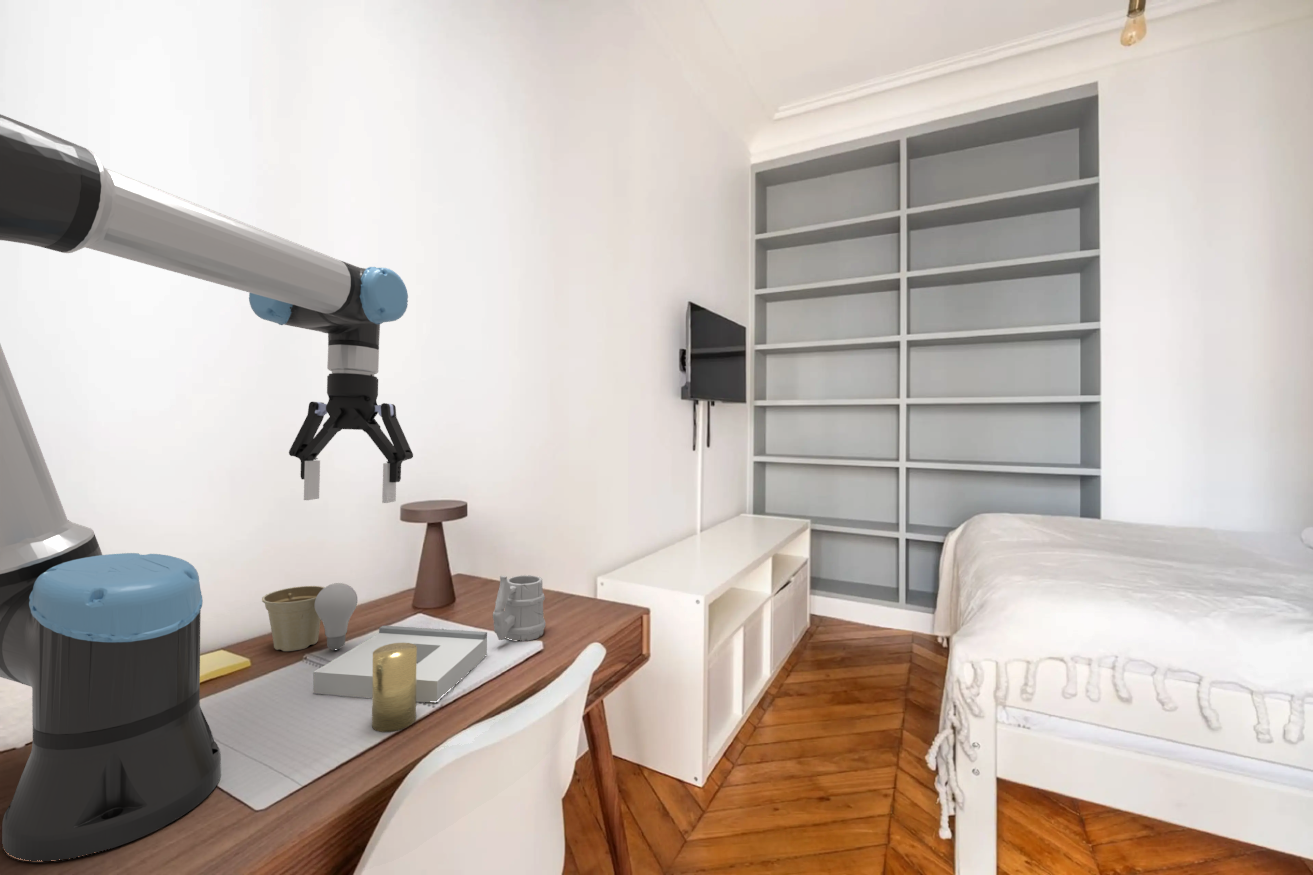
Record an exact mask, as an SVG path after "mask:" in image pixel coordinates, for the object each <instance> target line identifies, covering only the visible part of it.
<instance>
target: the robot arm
mask: <svg viewBox="0 0 1313 875" xmlns="http://www.w3.org/2000/svg"><path fill="white" fill-rule="evenodd" d="M0 241H4V242H12V243H18V244H26V245H31V246H35V247H40V248H44V249H47V250H51V251H56V252H59V253H63V254H71V253H75V252H77V251H80V250H82V249H84V248H86V249H91V250H93V251H97V252H100V253H105V254H107V255H112V256H114V257H115V256H116V257H119V258H122V259H126V260H130V261H133V262H138V263H141V264H145V265H148V266H152V267H155V268H160V269H162V270H167V271H170V272H174V273H177V274H181V275H183V276H184V275H185V276H188V277H190V278H191V277H192V278H195V279H200V280H201V281H202V280H203V281H205V282H206V281H207V282H209V283H213V284H217V285H220V286H224V287H228V288H232V289H234V290H235V289H236V290H238V291H241V292H242V291H243V292H246V293H248V294H249V295H248V296H249V297H248V301H249V305H250V308H251V310H252V311H253V313H254V314H255V315H256V316H257V317H259V318H260V319H262V320H265V321H269V322H271V323H275V324H278V325H279V326H289V327H295V328H301V329H305V330H309V331H314V332H315V331H316V332H320V333H324V334H327V341H328V342H327V345H328V346H327V370H328V371H330V372H331V373H329V374H328V375H327V378H326V384H327V385H326V394H327V396H328V401H327V403H325V402H321V401H310V402H309V404H308V409H307V415H306V416H305V417H306V418H305V419H304V421H303V423H302V424H301V427H300V429H299V431H298V433H297V435H296V437H295V439H294V440H293V442H292V444H291V446H290V448H289V451H288V455H289V456H290V457H295V458H297V459H299V460H300V479H301V480H304V482H303V501H311V500H312V501H313V500H319V499H320V482H321V481H320V479H321V478H320V476H321V474H320V472H321V460H318V459H319V458H318V456H319V455H320V453H321V452H322V451H323V450H324V449H325V448H326V447H327V445H328V444H329V443H330V441H332V439H333V438H334V437H335V436H336V434H338V433H339V432H340V431H341V430H355V431H356V430H360V431H361V430H362V431H363V432H364V433H366V434H367V435H368V437H369V438H370V439H371V441H372V442H373V443H374V445H375V446H376V448H378V450H379V451H380V452H381V454H382V455H383V456H384V458H386V460H387V461H386V462H385V463H383V464H382V465H383V466H382V497H381V502H382V504H388V503H393V502H394V503H395V502H396V498H397V496H396V495H397V483H400V482H401V479H402V476H401V475H402V463H403V462H404V461H407V460H411V459H413V458H414V453H413V451H412V449H411V447H410V444H409V443H408V439H407V437H406V435H405V433H404V431H403V429H402V427H401V424H400V423H399V420H398V417H397V409H396V405H395V404H394V403H385V402H382V403H381V404H378V402H377V399H378V396H379V378H378V377H377V376H375V375H377V374H378V373H379V360H380V359H379V358H380V357H379V356H380V333H381V332H380V328H381V324H384V323H388V322H389V323H390V322H395V321H398V320H400V318H402V317H403V316H404V314H405V313H406V311H407V309H408V302H409V300H408V298H409V295H408V290H407V287H406V284H405V282H404V281H403V279H402V278H401V276H400V275H399V274H398V273H397V272H395V271H394V270H392V269H390V268H387V267H376V266H369V267H366V268H364V267H359V266H356V265H353V264H351V263H348V262H346V261H344V260H340V259H338V258H335V257H333V256H331V255H330V256H329V255H327V254H325V253H322V252H320V251H318V250H314V249H312V248H309V247H307V246H304V245H301V244H299V243H297V242H294V241H292V240H289V239H287V238H285V237H281V236H278V235H277V234H273V233H271V232H269V231H266V230H265V229H261V228H258V227H255V226H253V225H250V224H248V223H246V222H244V221H240V220H238V219H235V218H232V217H231V216H227V215H225V214H222V213H220V212H218V211H215V210H212V209H210V208H207V207H205V206H202V205H200V204H198V203H195V202H192V201H190V200H187V199H185V198H182V197H180V196H178V195H174V194H173V193H169V192H167V191H164V190H162V189H159V188H156V187H154V186H152V185H149V184H146V183H143V182H141V181H139V180H136V179H133V178H132V177H128V176H126V175H123V174H122V173H118V172H116V171H113V170H111V169H108V168H106V167H105V166H104V165H103V163H102V162H101V160H100V159H99V157H98V156H97V155H96V154H95V152H94V151H92V150H90V149H89V148H86V147H83V146H82V145H78V144H76V143H74V142H72V141H69V140H67V139H64V138H62V137H59V136H57V135H54V134H51V133H49V132H47V131H44V130H42V129H39V128H38V127H35V126H32V125H29V124H27V123H24V122H22V121H18V120H16V119H13V118H11V117H9V116H6V115H4V114H1V113H0ZM327 414H328V416H329V417H328V418H327V419H326V420H325V422H324V423H323V424H322V422H323V420H324V417H325V416H326V415H327ZM377 415H379V416H380V417H381V419H382V422H383V425H384V426H385V429H386V432H387V434H388V437H389V438H390V439H389V438H388V437H387V435H386V434H385V433H384V431H383V430H382V428H381V425H380V424H379V423H378V421H377V420H376V419H375V418H376V416H377ZM321 425H322V427H321V429H320V426H321ZM319 429H320V430H319ZM318 430H319V431H318ZM317 432H318V433H317ZM64 509H65V508H64V507H63V504H62V501H61V499H60V496H59V494H58V491H57V489H56V485H55V483H54V480H53V478H52V475H51V473H50V470H49V468H48V464H47V463H46V459H45V457H44V455H43V452H42V449H41V446H40V444H39V441H38V439H37V436H36V434H35V430H34V428H33V426H32V423H31V420H30V418H29V414H28V412H27V409H26V408H25V405H24V402H23V399H22V398H21V394H20V392H19V389H18V386H17V383H16V382H15V378H14V376H13V374H12V371H11V368H10V366H9V363H8V361H7V358H6V355H5V353H4V350H3V348H2V345H1V343H0V678H2V679H6V680H9V681H13V682H16V683H19V684H22V685H24V686H28V687H31V690H32V691H31V693H32V694H31V696H32V698H31V699H32V703H31V705H32V710H31V711H32V712H31V713H32V717H31V718H32V719H31V722H32V747H31V751H30V754H29V757H28V758H27V761H26V764H25V767H24V769H23V771H22V773H21V776H20V778H19V782H18V783H17V787H16V790H15V793H14V795H13V797H12V801H11V802H10V804H9V806H8V808H7V809H6V811H5V812H4V815H3V819H2V825H1V827H2V830H1V832H2V834H1V837H2V838H1V839H2V841H1V844H3V847H4V849H5V851H6V852H7V853H9V855H12V856H14V857H16V858H19V859H20V858H21V859H23V860H24V859H25V860H29V861H30V860H31V861H37V860H38V861H39V860H40V861H41V860H42V861H51V860H59V859H60V860H62V859H68V860H70V859H69V858H73V859H77V858H76V857H78V856H82V855H86V854H91V853H94V852H98V853H100V852H99V851H102V852H104V851H103V850H105V851H107V850H106V849H108V850H111V849H114V848H117V847H120V846H123V845H125V844H128V843H131V842H132V841H133V842H134V841H135V840H138V839H140V838H142V837H145V836H147V835H149V834H151V833H154V832H155V831H158V830H159V829H161V828H163V827H165V826H167V825H169V824H171V823H173V822H174V821H176V820H178V819H179V818H181V817H182V816H184V815H186V814H187V813H188V812H190V811H191V810H193V809H194V808H196V807H197V806H198V805H199V804H200V803H202V802H203V801H205V800H206V798H208V796H209V795H211V793H212V792H213V790H215V789H216V787H217V785H218V784H219V782H220V780H221V776H222V774H221V771H222V767H221V766H222V764H221V762H222V761H221V760H222V758H221V757H222V755H221V748H220V747H219V746H218V744H217V742H216V741H215V739H214V736H213V732H212V731H211V728H210V725H209V724H208V720H207V718H206V717H205V714H204V712H203V710H202V708H201V701H200V699H201V698H200V696H201V695H200V692H201V691H200V690H201V689H200V688H201V687H200V685H201V684H200V682H201V681H200V680H201V677H200V676H201V610H202V607H203V603H204V602H203V594H202V591H201V590H202V589H201V584H200V575H199V573H198V570H197V568H195V566H194V565H193V564H192V563H190V562H189V561H187V560H185V559H182V558H180V557H176V556H171V555H168V554H167V555H166V554H160V553H148V554H141V553H138V552H137V553H135V552H127V553H126V552H125V553H123V552H122V553H112V554H103V552H102V550H101V547H100V544H99V542H98V539H97V536H96V533H95V532H94V530H93V528H91V527H87V526H85V525H82V524H78V523H76V522H72V521H70V520H69V519H68V516H67V514H66V512H65V510H64ZM3 847H2V848H3ZM110 848H111V849H110ZM91 855H92V854H91ZM74 857H75V858H74ZM78 858H79V857H78ZM62 861H63V860H62Z"/></svg>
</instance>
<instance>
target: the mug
mask: <svg viewBox="0 0 1313 875" xmlns="http://www.w3.org/2000/svg"><path fill="white" fill-rule="evenodd" d="M499 581H500V582H499V589H498V591H497V594H496V599H495V602H494V603H495V607H494V610H493V612H492V619H493V620H492V621H493V629H494V630H493V631H494V634H496V636H497V639H498V640H499V641H503V640H505V639H506V638H509V639H512V640H520V641H521V640H523V641H522V642H524V641H527V642H528V641H529V642H530V641H532V640H536V639H538V638H540V637H542V636H543V634H544V629H545V628H546V620H545V618H544V600H546V597H545V593H544V592H543V578H542V577H541V576H538V575H537V576H536V575H532V574H523V575H522V574H521V575H514V576H512V577H509V578H508V577H507V576H506V575H502V574H501V575H500V576H499ZM505 637H506V638H505Z"/></svg>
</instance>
